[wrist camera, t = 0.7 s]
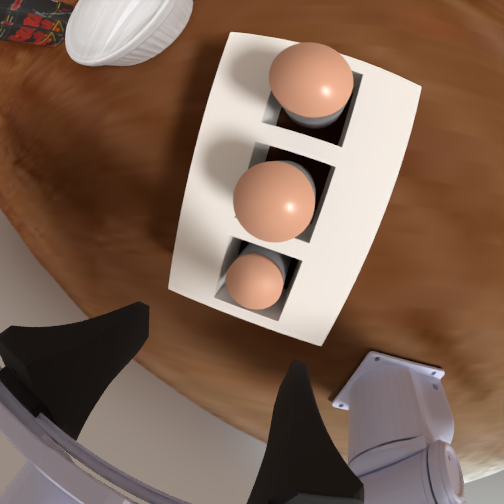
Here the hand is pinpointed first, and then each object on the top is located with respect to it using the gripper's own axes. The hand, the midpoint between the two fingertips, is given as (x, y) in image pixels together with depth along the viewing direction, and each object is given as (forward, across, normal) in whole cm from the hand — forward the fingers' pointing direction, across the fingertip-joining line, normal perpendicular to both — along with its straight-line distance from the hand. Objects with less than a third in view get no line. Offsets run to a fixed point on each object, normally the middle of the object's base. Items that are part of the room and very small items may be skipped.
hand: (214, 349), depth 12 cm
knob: (+6, -1, -12) cm, 14 cm away
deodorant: (+10, +30, -21) cm, 38 cm away
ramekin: (+10, +15, -19) cm, 26 cm away
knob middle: (+6, -1, -7) cm, 9 cm away
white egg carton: (+10, -1, -7) cm, 12 cm away
